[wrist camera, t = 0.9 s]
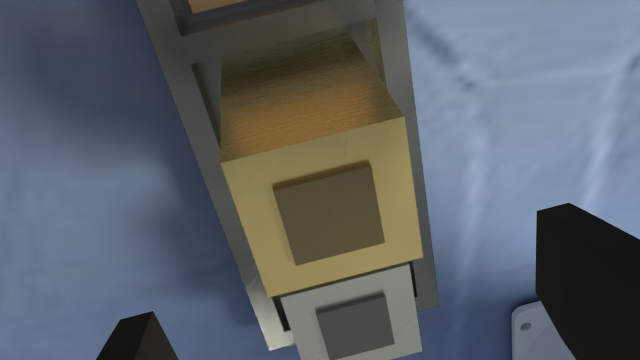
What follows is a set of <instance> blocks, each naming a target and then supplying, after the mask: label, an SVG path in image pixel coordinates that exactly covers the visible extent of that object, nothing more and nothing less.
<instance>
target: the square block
mask: <svg viewBox="0 0 640 360" xmlns="http://www.w3.org/2000/svg"><path fill="white" fill-rule="evenodd" d="M280 299H281V302H282V305H283V308H284V311H285V314H286V317H287V320H288V323H289V325H290V328H291V331H292V334H293V337H294V340H295V343H296V346H297V349H298V352H299V355H300V358H301V360H391V359H395V358H399V357H403V356H407V355H410V354H414V353H418V352H422V344H421V338H420V331H419V325H418V318H417V312H416V305H415V298H414V292H413V285H412V279H411V272H410V266H409V263H408V261H407V262H403V263H399V264H395V265H391V266H388V267H384V268H380V269H376V270H372V271H368V272H365V273H361V274H357V275H353V276H349V277H346V278H342V279H338V280H334V281H330V282H326V283H323V284H319V285H315V286H311V287H307V288H303V289H300V290H296V291H292V292H288V293H284V294H280Z"/></svg>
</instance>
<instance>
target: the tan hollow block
mask: <svg viewBox="0 0 640 360" xmlns="http://www.w3.org/2000/svg"><path fill="white" fill-rule="evenodd" d="M220 164H221V166H222V169H223V172H224V175H225V178H226V181H227V183H228V186H229V189H230V192H231V195H232V197H233V200H234V203H235V206H236V209H237V211H238V214H239V217H240V220H241V223H242V225H243V228H244V231H245V234H246V237H247V240H248V242H249V245H250V248H251V251H252V254H253V256H254V259H255V262H256V265H257V268H258V270H259V273H260V276H261V279H262V282H263V285H264V287H265V290H266V293H267V296H268V298H269V297H273V296H277V295H280V294H284V293H288V292H292V291H296V290H300V289H303V288H307V287H311V286H315V285H319V284H323V283H326V282H330V281H334V280H338V279H342V278H346V277H349V276H353V275H357V274H361V273H365V272H368V271H372V270H376V269H380V268H384V267H388V266H391V265H395V264H399V263H403V262H407V261H411V260H414V259H418V258H422V257H423V252H422V244H421V237H420V229H419V222H418V214H417V207H416V199H415V192H414V184H413V177H412V169H411V162H410V154H409V146H408V139H407V131H406V124H405V116H404V115H403V113H402V112H401V110H400V109H399V107H398V106H397V104H396V103H395V101H394V100H393V98H392V97H391V95H390V94H389V92H388V91H387V89H386V88H385V86H384V85H383V83H382V82H381V80H380V79H379V77H378V76H377V74H376V73H375V71H374V70H373V68H372V67H371V65H370V64H369V62H368V61H367V59H366V58H365V56H364V55H363V53H362V52H361V50H360V49H359V47H358V46H357V44H356V43H355V41H354V40H353V38H352V37H351V35H350V34H345V35H341V36H337V37H334V38H330V39H326V40H322V41H318V42H314V43H310V44H306V45H302V46H298V47H294V48H290V49H286V50H282V51H278V52H274V53H270V54H266V55H262V56H258V57H254V58H250V59H246V60H242V61H238V62H234V63H230V64H226V65H222V66H221V146H220Z"/></svg>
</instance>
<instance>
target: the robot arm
mask: <svg viewBox="0 0 640 360" xmlns="http://www.w3.org/2000/svg"><path fill="white" fill-rule="evenodd" d="M536 293H537V295H538V297H539V299H540V300H541V301H537V302H534V303H530V304H526V305H522V306H520V307H518V308H516V309H515V310H514V311H513V313H512V360H640V240H639V239H638V238H636V237H634V236H632V235H630V234H628V233H626V232H624V231H622V230H620V229H619V228H617V227H615V226H613V225H611V224H609V223H607V222H605V221H603V220H602V219H600V218H598V217H596V216H594V215H592V214H590V213H588V212H586V211H584V210H582V209H581V208H578V207H576V206H574V205H572V204H570V203H566V204H562V205H559V206H555V207H551V208H547V209H543V210H539V211H537V232H536ZM96 360H178V358H177V356H176V354H175V352H174V350H173V348H172V346H171V344H170V343H169V341H168V339H167V337H166V335H165V333H164V331H163V329H162V327H161V325H160V324H159V322H158V320H157V318H156V316H155V314H154V312H153V311H152V312H148V313H144V314H140V315H136V316H133V317H129V318H125V319H121V320H120V321H119V323H118V324H117V326H116V327H115V329H114V331H113V332H112V334H111V335H110V337H109V339H108V340H107V342H106V344H105V345H104V347H103V349H102V350H101V352H100V354H99V356H98V357H97V359H96Z"/></svg>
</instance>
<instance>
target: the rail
mask: <svg viewBox="0 0 640 360" xmlns="http://www.w3.org/2000/svg"><path fill="white" fill-rule="evenodd" d="M136 3H137V6H138V8H139V11H140V13H141V16H142V19H143V21H144V24H145V27H146V29H147V32H148V34H149V37H150V40H151V42H152V45H153V47H154V50H155V53H156V55H157V58H158V61H159V63H160V66H161V68H162V71H163V74H164V76H165V79H166V81H167V84H168V87H169V89H170V92H171V95H172V97H173V100H174V102H175V105H176V108H177V110H178V113H179V116H180V118H181V121H182V123H183V126H184V129H185V131H186V134H187V136H188V139H189V142H190V144H191V147H192V150H193V152H194V155H195V157H196V160H197V163H198V165H199V168H200V170H201V173H202V176H203V178H204V181H205V184H206V186H207V189H208V191H209V194H210V197H211V199H212V202H213V204H214V207H215V210H216V212H217V215H218V218H219V220H220V223H221V225H222V228H223V231H224V233H225V236H226V238H227V241H228V244H229V246H230V249H231V252H232V254H233V257H234V259H235V262H236V265H237V267H238V270H239V273H240V275H241V278H242V280H243V283H244V286H245V288H246V291H247V293H248V296H249V299H250V301H251V304H252V307H253V309H254V312H255V314H256V317H257V320H258V322H259V325H260V327H261V330H262V333H263V335H264V338H265V341H266V343H267V346H268V348H269V351H270V350H274V349H278V348H282V347H286V346H289V345H293V344H296V343H295V340H294V337H293V334H292V331H291V328H290V325H289V323H288V320H287V317H286V314H285V311H284V308H283V305H282V302H281V299H280V295H277V296H273V297H269V298H268V296H267V293H266V290H265V287H264V285H263V282H262V279H261V276H260V273H259V270H258V268H257V265H256V262H255V259H254V256H253V254H252V251H251V248H250V245H249V242H248V240H247V237H246V234H245V231H244V228H243V225H242V223H241V220H240V217H239V214H238V211H237V209H236V206H235V203H234V200H233V197H232V195H231V192H230V189H229V186H228V183H227V181H226V178H225V175H224V172H223V169H222V166H221V164H220V146H221V66H222V65H226V64H230V63H234V62H238V61H242V60H246V59H250V58H254V57H258V56H262V55H266V54H270V53H274V52H278V51H282V50H286V49H290V48H294V47H298V46H302V45H306V44H310V43H314V42H318V41H322V40H326V39H330V38H334V37H337V36H341V35H345V34H350V35H351V37H352V38H353V40H354V41H355V43H356V44H357V46H358V47H359V49H360V50H361V52H362V53H363V55H364V56H365V58H366V59H367V61H368V62H369V64H370V65H371V67H372V68H373V70H374V71H375V73H376V74H377V76H378V77H379V79H380V80H381V82H382V83H383V85H384V86H385V88H386V89H387V91H388V92H389V94H390V95H391V97H392V98H393V100H394V101H395V103H396V104H397V106H398V107H399V109H400V110H401V112H402V113H403V115H404V116H405V124H406V131H407V139H408V146H409V154H410V162H411V169H412V177H413V184H414V192H415V199H416V207H417V214H418V222H419V229H420V237H421V244H422V252H423V257H422V258H418V259H414V260H411V261H408V263H409V266H410V272H411V279H412V285H413V292H414V298H415V305H416V312H419V311H422V310H426V309H430V308H434V307H438V306H439V300H438V292H437V284H436V275H435V267H434V259H433V250H432V242H431V234H430V225H429V217H428V208H427V200H426V192H425V183H424V175H423V167H422V158H421V150H420V142H419V133H418V125H417V117H416V108H415V100H414V92H413V83H412V75H411V67H410V58H409V50H408V41H407V33H406V25H405V16H404V8H403V0H136Z"/></svg>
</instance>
